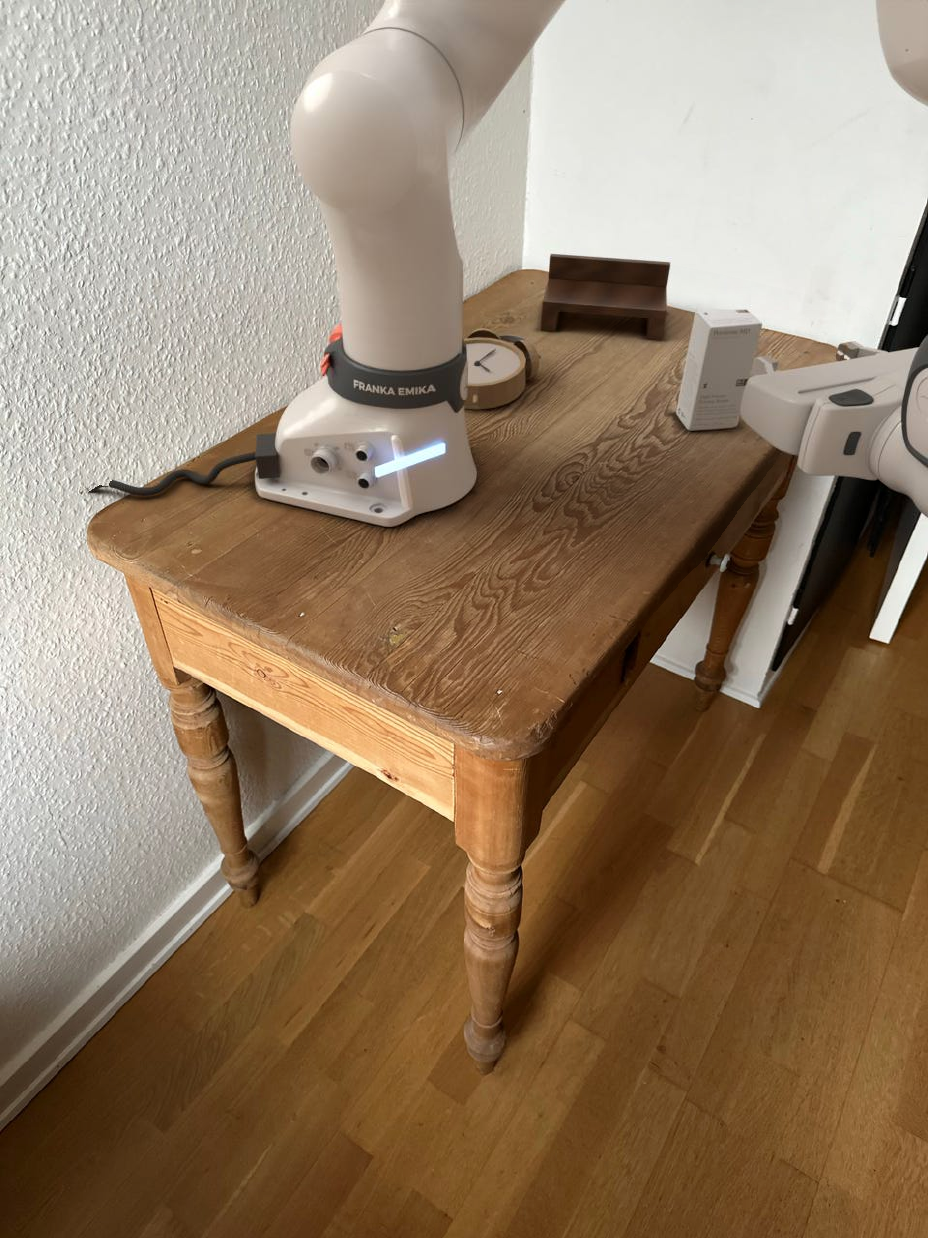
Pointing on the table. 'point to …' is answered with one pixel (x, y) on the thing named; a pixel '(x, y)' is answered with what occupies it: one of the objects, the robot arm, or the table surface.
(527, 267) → the table surface
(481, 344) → the alarm clock
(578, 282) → the brown wooden bench
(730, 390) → the cosmetic box
